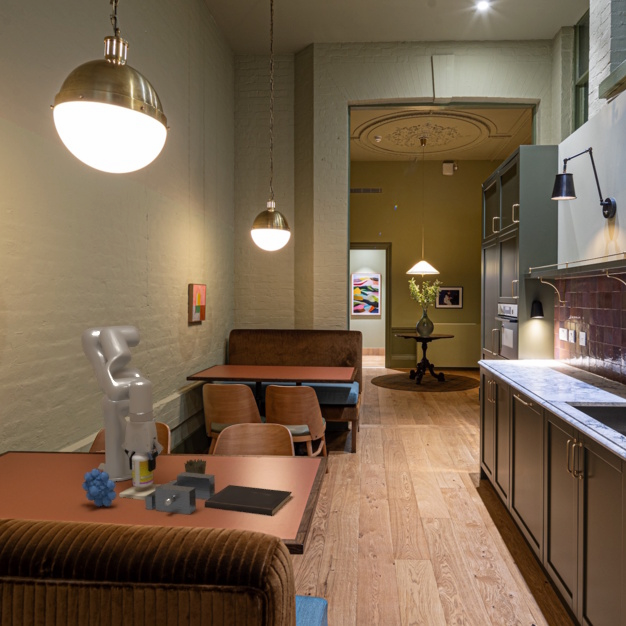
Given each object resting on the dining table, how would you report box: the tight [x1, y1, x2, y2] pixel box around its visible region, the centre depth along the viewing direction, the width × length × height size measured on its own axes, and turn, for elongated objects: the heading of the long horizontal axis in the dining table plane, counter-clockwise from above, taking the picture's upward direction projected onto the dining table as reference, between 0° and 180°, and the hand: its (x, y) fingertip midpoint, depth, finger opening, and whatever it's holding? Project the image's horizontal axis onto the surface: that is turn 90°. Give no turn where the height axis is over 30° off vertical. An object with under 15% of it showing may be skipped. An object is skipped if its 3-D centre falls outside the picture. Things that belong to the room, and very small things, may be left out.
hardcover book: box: [204, 484, 293, 517], centre depth 170 cm, size 16×23×2 cm
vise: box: [144, 471, 216, 515], centre depth 169 cm, size 16×19×7 cm
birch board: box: [118, 483, 160, 501], centre depth 180 cm, size 11×11×1 cm
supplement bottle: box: [131, 452, 154, 487], centre depth 180 cm, size 7×7×13 cm
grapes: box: [82, 468, 117, 508], centre depth 167 cm, size 12×7×12 cm, turn 78°
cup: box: [184, 458, 207, 474], centre depth 187 cm, size 8×7×8 cm
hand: (142, 469), depth 180 cm, fingers closed on supplement bottle, 6 cm apart
